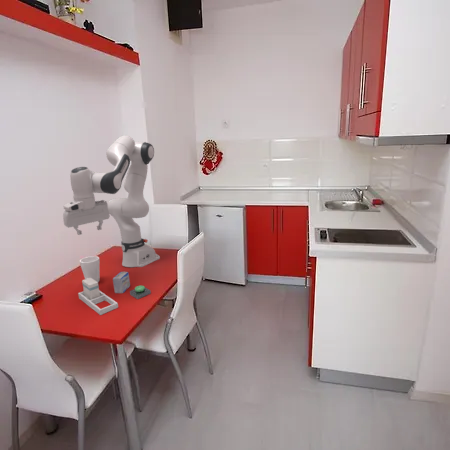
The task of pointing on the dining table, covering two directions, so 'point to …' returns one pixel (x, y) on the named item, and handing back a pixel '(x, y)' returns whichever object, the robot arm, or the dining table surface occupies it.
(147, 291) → the grey button housing
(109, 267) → the dining table surface
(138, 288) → the button
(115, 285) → the medicine box
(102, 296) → the white rectangular tray
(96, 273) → the foam cup
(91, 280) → the seated billet
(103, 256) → the dining table surface
